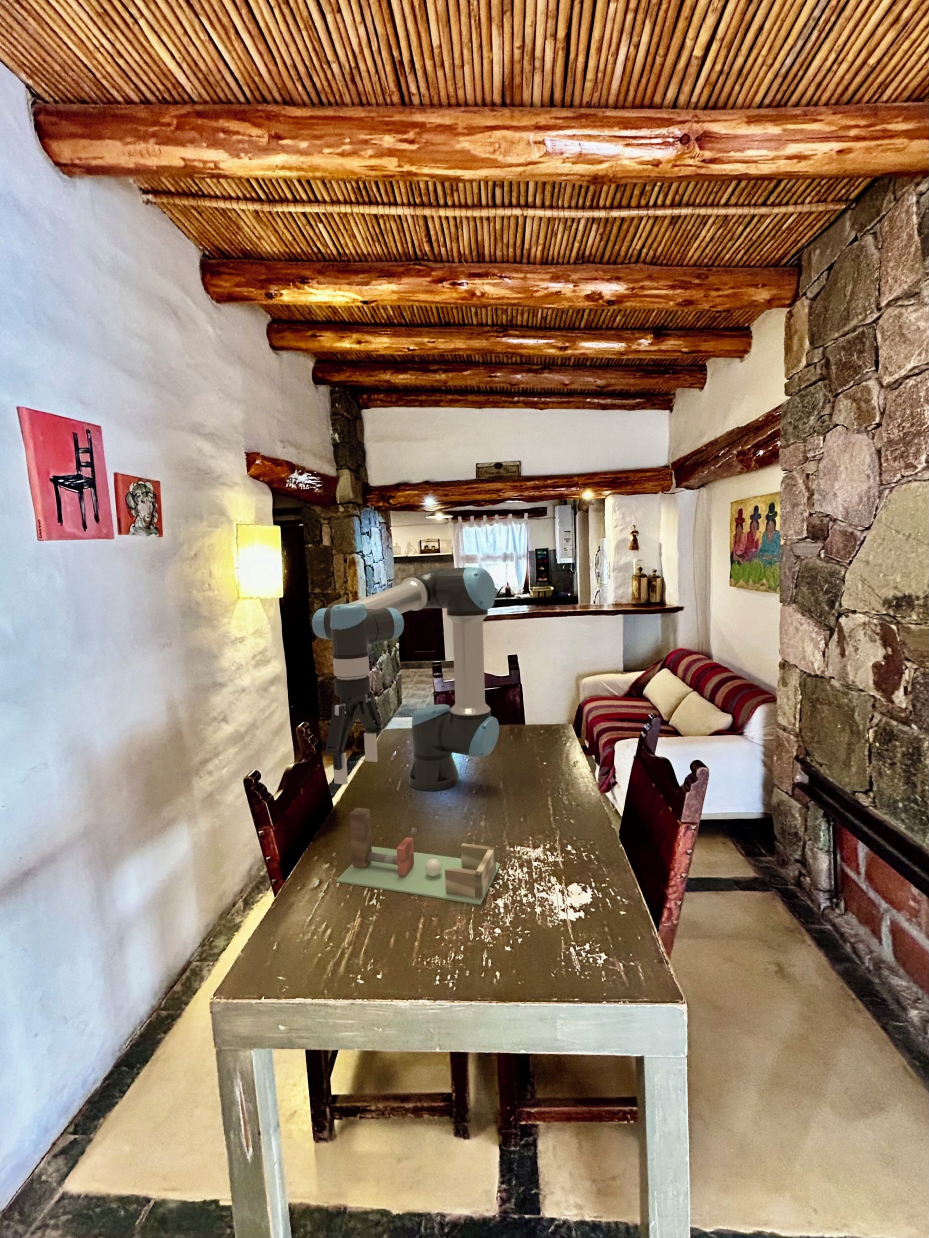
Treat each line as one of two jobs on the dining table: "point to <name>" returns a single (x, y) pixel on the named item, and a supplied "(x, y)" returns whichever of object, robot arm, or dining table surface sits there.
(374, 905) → the dining table surface
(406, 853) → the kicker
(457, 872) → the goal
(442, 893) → the mat
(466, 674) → the robot arm
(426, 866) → the ball
